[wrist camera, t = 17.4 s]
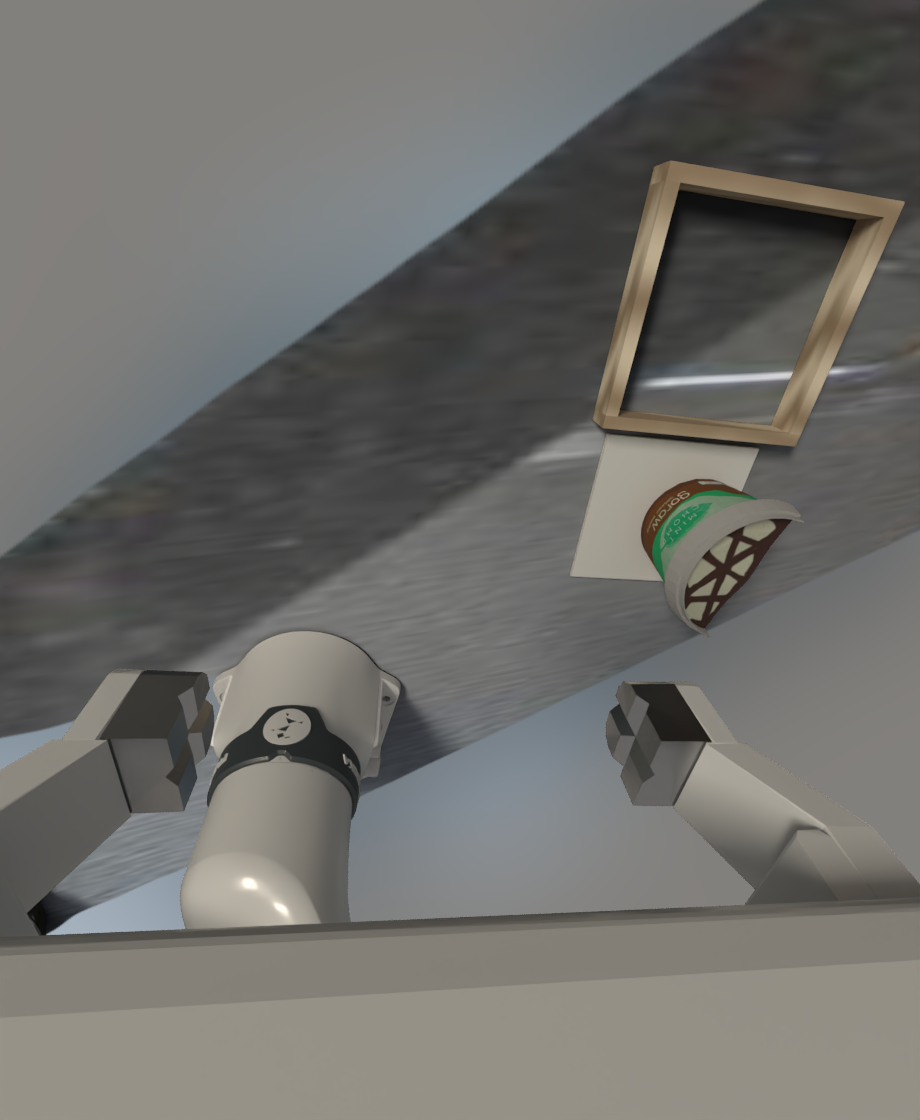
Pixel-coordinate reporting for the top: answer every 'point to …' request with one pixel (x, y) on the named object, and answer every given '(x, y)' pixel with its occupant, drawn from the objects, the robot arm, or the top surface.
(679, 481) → the mat
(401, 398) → the top surface
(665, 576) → the food container
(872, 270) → the frame
